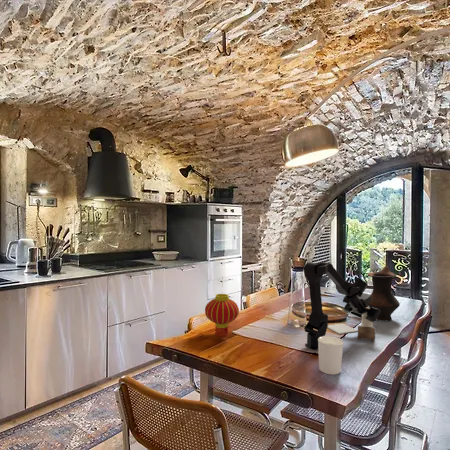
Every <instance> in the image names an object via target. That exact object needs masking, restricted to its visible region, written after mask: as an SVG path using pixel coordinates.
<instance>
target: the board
mask: <svg viewBox="0 0 450 450" xmlns="http://www.w3.org/2000/svg"><path fill="white" fill-rule="evenodd" d="M327 330H330V331H333V332H334V333H336V334H339V335H344V334H345V335H346V334H352V333H358V329H356V328H353V327H352V326H349V325H347V324H345V323H337V324H336V323H335V324H328V327H327Z"/></svg>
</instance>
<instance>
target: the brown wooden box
mask: <svg viewBox="0 0 450 450" xmlns="http://www.w3.org/2000/svg"><path fill="white" fill-rule="evenodd" d="M357 330H358V332H357V339H358V340H361V339H363V340H369V341H371V342H376V327H366V326H361V325H359V324H358V325H357Z"/></svg>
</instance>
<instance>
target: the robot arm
mask: <svg viewBox="0 0 450 450" xmlns="http://www.w3.org/2000/svg"><path fill="white" fill-rule="evenodd" d="M303 274H304V277H305V279H306V280H307V282H308V288H309V296H310V297H309V298H310V307H311V308H310V309H311V311H310V313H309V315H308V316H309V317H308V322H307V323H306V325H305V326H304V327H303V329H304V332H305V333H307V335H306V336H307V338H306V343H304V345H305V346H306V347H308V348H309V349H310V350H312V351H315V350H318V338H319V337H322V336H326V333H327V330H328V328H327V327H328V325H329V316H328V314H326V313H324V311H323V301H322V291H321V280H322V278H323V275H324V274H325V275H327V277H328V278H329V279H330V281H332V283H333V284H334V285H335V289H336V290H337V292H338V294H340V295H342V296H343V299H342V302H343V303H345V305H344V307H343V310H344V312H347V313H349V314H350V315H353V316H355V317H357V318H360V319H362V315H363V314H365V313H367V317H366V319H367V320H369V321H371V322H373V323H374V322H375V321H378V320H377V318H378V316H379V315H380V313H381V311H380V310H379V309H377V308H374V307H372V308H370V307H369V306H368V303H370V302H371V301H372V298H371V295H370V293H367V292H366V293H365V290H366V289H367V288H368V285H369V283H367V282H366V281H365V280H363V279H362V278H360V277H357V278H355V281H354V282H353V283H351V282H349V281H347V280H345V279H344V278H343V276H342V275H341V274H340V273H339V272H338V270H336V268H335V267H334V266H333V264H332V263H331V262H326V261H325V262H324V261H323V262H314V263H313V262H312V261H311V262H310V261H309V262H308V261H307V262H306V263H305V264H304V266H303ZM366 307H369V309H368V308H366Z"/></svg>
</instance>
